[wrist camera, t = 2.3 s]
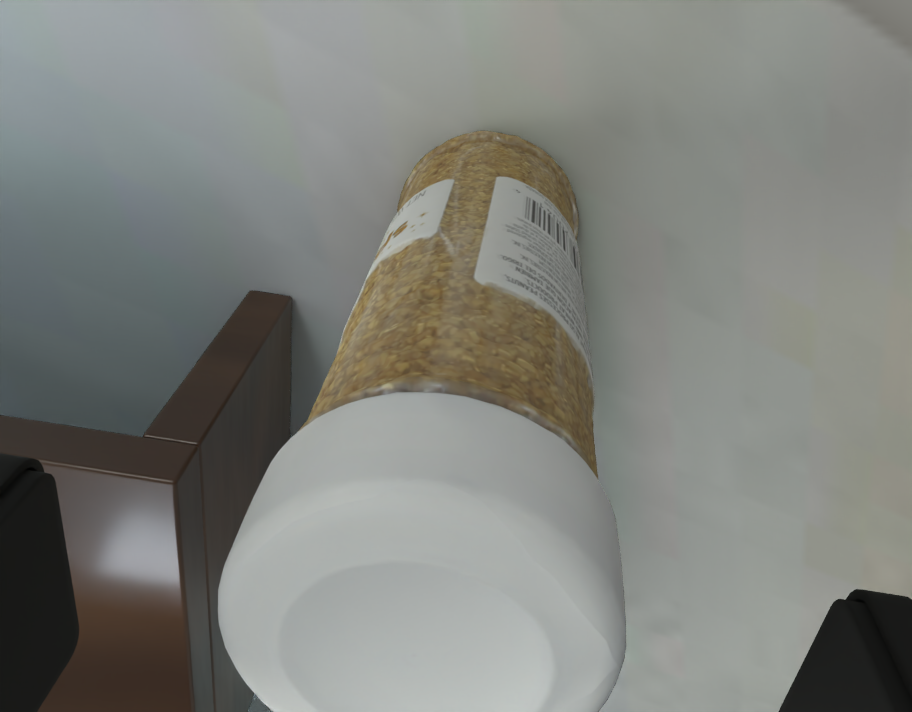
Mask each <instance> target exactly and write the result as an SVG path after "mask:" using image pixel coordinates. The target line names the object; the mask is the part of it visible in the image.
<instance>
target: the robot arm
mask: <svg viewBox="0 0 912 712" xmlns="http://www.w3.org/2000/svg"><path fill="white" fill-rule="evenodd" d="M78 638H79V622H78V615H77V609H76V603H75V597H74V591H73V585H72V579H71V573H70V566H69V560H68V554H67V548H66V542H65V536H64V530H63V523H62V517H61V511H60V505H59V499H58V493H57V487H56V482H55V478H54V477H53V476H52V474H49V473H45V472H44V469H43V466H42V464H41V463H40V461H39V460H37V459H34V458H28V457H22V456H15V455H9V454H3V453H0V712H37V711H38V710H39V708H40V707H41V705H42V703H43V702H44V700H45V699H46V697H47V695H48V694H49V692H50V691H51V689H52V688H53V686H54V684H55V683H56V681H57V680H58V678H59V677H60V675H61V673H62V672H63V670H64V669H65V667H66V666H67V664H68V662H69V661H70V659H71V657H72V655H73V653H74V651H75V648H76V646H77V642H78ZM779 712H912V599H910V598H908V597H905V596H899V595H893V594H886V593H880V592H874V591H867V590H859V589H856V590H854V591H853V592H851V593H850V594H849V596H848V597H847V598H846V600H843V599H838V600H836V601H834V603H833V604H832V606H831V607H830V609H829V611H828V613H827V615H826V617H825V619H824V621H823V623H822V625H821V627H820V629H819V631H818V633H817V635H816V637H815V639H814V641H813V643H812V645H811V647H810V650H809V652H808V654H807V656H806V658H805V660H804V662H803V664H802V666H801V668H800V670H799V672H798V674H797V676H796V678H795V680H794V682H793V684H792V686H791V688H790V690H789V692H788V694H787V696H786V698H785V700H784V702H783V704H782V706H781V708H780V710H779Z"/></svg>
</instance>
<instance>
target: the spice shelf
mask: <svg viewBox="0 0 912 712" xmlns="http://www.w3.org/2000/svg"><path fill="white" fill-rule="evenodd" d="M291 335H292V298H291V296H286V295H279V294H273V293H266V292H260V291H253V290H252V291H249V292H248V294H247V295H246V297H245V298H244V299H243V301H242V302H241V303H240V305H239V306H238V307H237V309H236V310H235V311H234V313H233V314H232V315H231V317H230V318H229V319H228V321H227V322H226V324H225V325H224V326H223V328H222V329H221V330H220V332H219V333H218V334H217V336H216V337H215V338H214V340H213V341H212V342H211V344H210V345H209V346H208V348H207V349H206V351H205V352H204V353H203V355H202V356H201V357H200V359H199V360H198V361H197V363H196V364H195V365H194V367H193V368H192V369H191V371H190V372H189V373H188V375H187V376H186V378H185V379H184V380H183V382H182V383H181V384H180V386H179V387H178V388H177V390H176V391H175V392H174V394H173V395H172V396H171V398H170V399H169V401H168V402H167V403H166V405H165V406H164V407H163V409H162V410H161V411H160V413H159V414H158V415H157V417H156V418H155V419H154V421H153V422H152V423H151V425H150V426H149V428H148V429H147V430H146V432H145V433H144V435H143V437H140V436H133V435H127V434H120V433H114V432H108V431H101V430H95V429H88V428H82V427H76V426H69V425H63V424H56V423H50V422H43V421H37V420H31V419H24V418H18V417H11V416H5V415H0V453H3V454H9V455H15V456H22V457H28V458H34V459H37V460H39V461H40V463H41V464H42V466H43V469H44V472H45V473H49V474H52V476H53V477H54V478H55V482H56V487H57V493H58V499H59V505H60V511H61V517H62V523H63V530H64V536H65V542H66V548H67V554H68V560H69V566H70V573H71V579H72V585H73V591H74V597H75V603H76V609H77V615H78V622H79V638H78V642H77V646H76V648H75V651H74V653H73V655H72V657H71V659H70V661H69V662H68V664H67V666H66V667H65V669H64V670H63V672H62V673H61V675H60V677H59V678H58V680H57V681H56V683H55V684H54V686H53V688H52V689H51V691H50V692H49V694H48V695H47V697H46V699H45V700H44V702H43V703H42V705H41V707H40V708H39V710H38V711H37V712H248V709H249V707H250V704H251V701H252V698H253V696H254V692H253V691H252V690H251V689H250V687H249V686H248V685H247V684H246V683H245V681H244V680H243V678H242V677H241V675H240V674H239V672H238V671H237V669H236V668H235V666H234V664H233V662H232V660H231V658H230V656H229V654H228V652H227V650H226V648H225V645H224V641H223V638H222V634H221V630H220V627H219V621H218V588H219V584H220V580H221V575H222V571H223V568H224V565H225V562H226V560H227V557H228V555H229V553H230V550H231V548H232V545H233V543H234V541H235V538H236V536H237V534H238V531H239V529H240V526H241V524H242V522H243V519H244V517H245V515H246V513H247V510H248V508H249V506H250V504H251V502H252V499H253V497H254V495H255V493H256V491H257V489H258V487H259V485H260V483H261V481H262V479H263V477H264V475H265V473H266V471H267V469H268V467H269V465H270V463H271V461H272V460H273V459H274V457H275V456H276V454H277V453H278V452H279V450H280V449H281V448H282V447H283V446H284V445H285V444H286V443H287V442H288V440H289V439H290V402H291Z"/></svg>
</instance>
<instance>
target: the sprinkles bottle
mask: <svg viewBox="0 0 912 712" xmlns="http://www.w3.org/2000/svg"><path fill="white" fill-rule="evenodd" d="M578 223H579V219H578V210H577V206H576V199H575V195H574V193H573V191H572V188H571V185H570V182H569V180H568V178H567V176H566V175H565V173H564V172H563V170H562V169H561V168H560V167H559V166H558V165H557V164H556V162H555V161H554V160H553V159H552V158H551V157H550V156H549V155H548V154H547V153H546V152H545V151H543V150H542V149H541V148H539V147H537V146H535V145H533V144H532V143H530V142H528V141H525V140H523V139H521V138H519V137H517V136H515V135H506V134H503V133H495V132H491V131H476V132H472V133H468V134H464V135H460V136H457V137H455V138H452V139H450V140H448V141H446V142H445V143H443V144H442V145H440V146H438V147H436V148H435V149H433V150H432V151H431V152H429V153H428V154H426V155H425V156H424V157H423V158H422V159H421V160H420V161H419V162H418V163H417V165H416V166H415V167H414V169H413V170H412V172H411V174H410V176H409V177H408V179H407V180H406V182H405V185H404V187H403V190H402V192H401V196H400V200H399V203H398V209H397V214H396V216H395V217H394V218H393V220H392V222H391V224H390V225H389V227H388V229H387V231H386V233H385V236H384V238H383V240H382V243H381V245H380V247H379V250H378V252H377V255H376V257H375V259H374V262H373V264H372V266H371V269H370V271H369V273H368V275H367V277H366V280H365V282H364V284H363V287H362V289H361V291H360V294H359V296H358V298H357V301H356V303H355V305H354V307H353V309H352V312H351V314H350V316H349V319H348V321H347V323H346V326H345V328H344V331H343V334H342V337H341V341H340V344H339V348H338V351H337V355H336V357H335V359H334V362H333V364H332V365H331V368H330V370H329V373H328V375H327V377H326V379H325V381H324V383H323V386H322V389H321V391H320V393H319V395H318V398H317V400H316V402H315V404H314V406H313V408H312V410H311V413H310V415H309V418H308V420H307V422H305V423H304V424H303V426H302V427H301V428H300V430H299V431H298V432H297V433H296V434H295V435H294V436H293V437H291V438H290V439H289V440H288V442H287V443H286V444H285V445H284V446H283V447H282V448H281V449H280V450H279V452H278V453H277V454H276V456H275V457H274V459H273V460H272V461H271V463H270V465H269V467H268V469H267V471H266V473H265V475H264V477H263V479H262V481H261V483H260V485H259V487H258V489H257V491H256V493H255V495H254V497H253V499H252V502H251V504H250V506H249V508H248V510H247V513H246V515H245V517H244V519H243V522H242V524H241V526H240V529H239V531H238V534H237V536H236V538H235V541H234V543H233V545H232V548H231V550H230V553H229V555H228V557H227V560H226V562H225V565H224V568H223V571H222V575H221V580H220V584H219V588H218V621H219V627H220V630H221V634H222V638H223V641H224V645H225V648H226V650H227V652H228V654H229V656H230V658H231V660H232V662H233V664H234V666H235V668H236V669H237V671H238V672H239V674H240V675H241V677H242V678H243V680H244V681H245V683H246V684H247V685H248V686H249V687H250V689H251V690H252V691H253V692H254V693H255V694H256V695H257V696H258V698H259V699H260V700H261V701H262V702H263V703H264V704H265V705H266V706H267V707H269V708H270V709H271V710H272V711H273V712H599V710H600V709H601V708H602V706H603V705H604V704H605V702H606V701H607V700H608V698H609V696H610V694H611V692H612V690H613V688H614V686H615V684H616V681H617V679H618V676H619V673H620V670H621V667H622V664H623V661H624V657H625V650H626V620H625V602H624V587H623V575H622V564H621V553H620V546H619V539H618V532H617V524H616V518H615V515H614V512H613V509H612V506H611V504H610V501H609V499H608V497H607V495H606V493H605V491H604V489H603V487H602V486H601V484H600V482H599V481H598V474H597V464H596V455H595V444H594V435H593V419H592V417H593V411H594V399H595V392H594V382H593V373H592V364H591V355H590V346H589V336H588V327H587V318H586V308H585V298H584V289H583V280H582V270H581V261H580V254H579V249H578V245H577V242H576V240H577V235H578Z"/></svg>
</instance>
